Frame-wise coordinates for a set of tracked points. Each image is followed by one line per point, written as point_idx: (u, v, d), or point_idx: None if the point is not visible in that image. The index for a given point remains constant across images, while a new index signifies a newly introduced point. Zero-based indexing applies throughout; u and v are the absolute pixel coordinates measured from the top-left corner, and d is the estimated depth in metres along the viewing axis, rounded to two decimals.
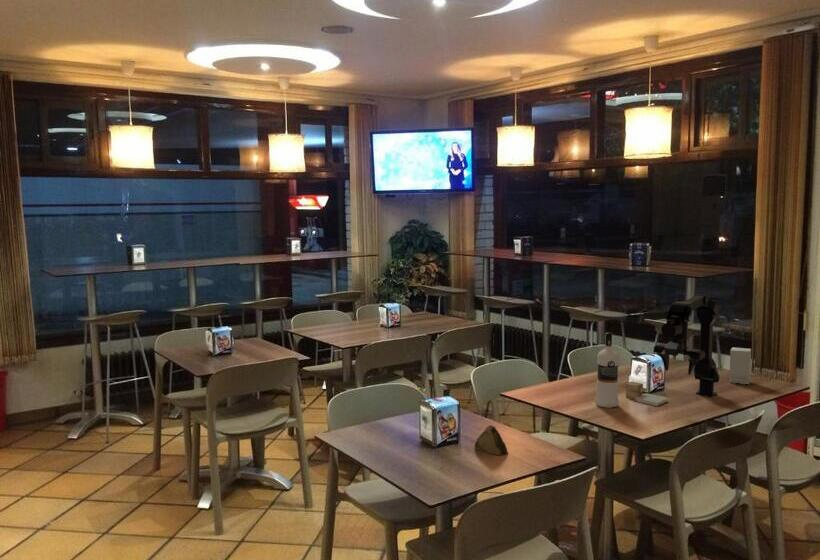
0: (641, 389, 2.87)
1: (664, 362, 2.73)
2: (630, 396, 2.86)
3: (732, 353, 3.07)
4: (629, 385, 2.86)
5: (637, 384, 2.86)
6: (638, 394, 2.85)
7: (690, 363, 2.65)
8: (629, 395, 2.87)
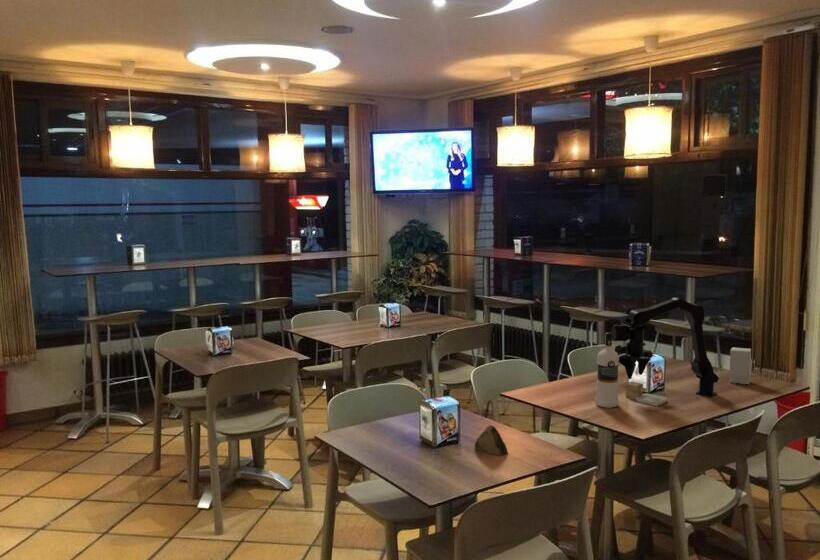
0: (641, 389, 2.87)
1: None
2: (630, 396, 2.86)
3: (732, 353, 3.07)
4: (629, 385, 2.86)
5: (637, 384, 2.86)
6: (638, 394, 2.85)
7: None
8: (629, 395, 2.87)
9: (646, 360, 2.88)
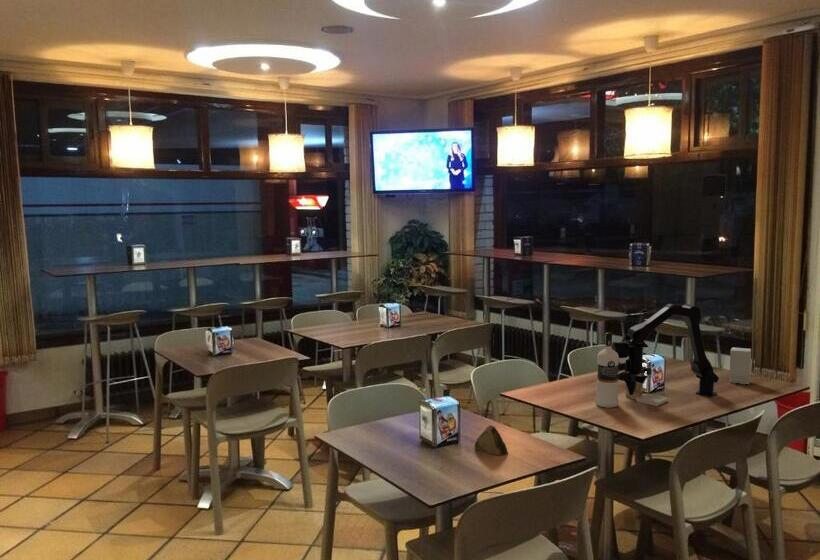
0: (641, 389, 2.87)
1: None
2: (630, 396, 2.86)
3: (732, 353, 3.07)
4: None
5: (637, 384, 2.86)
6: (638, 394, 2.85)
7: None
8: (629, 395, 2.87)
9: (643, 378, 2.88)
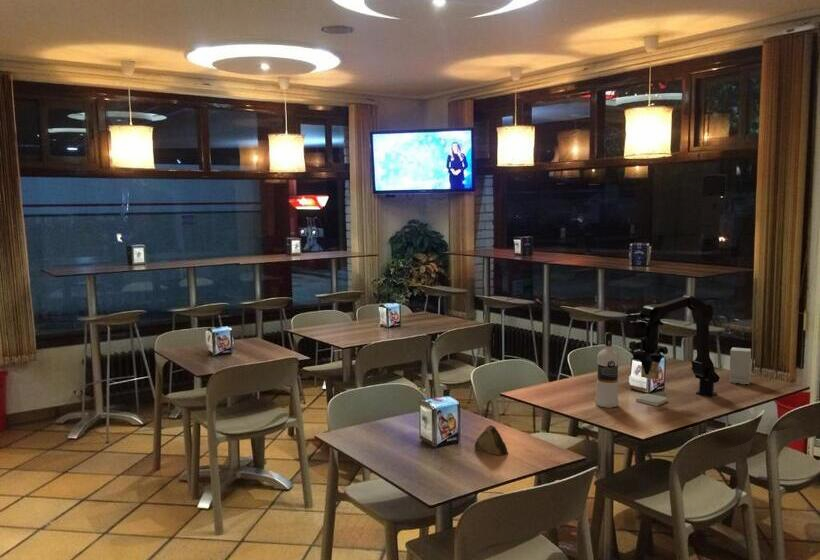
0: (657, 368, 2.81)
1: None
2: (646, 375, 2.80)
3: (732, 353, 3.07)
4: None
5: (653, 363, 2.80)
6: (654, 373, 2.79)
7: None
8: (644, 375, 2.81)
9: (659, 357, 2.81)
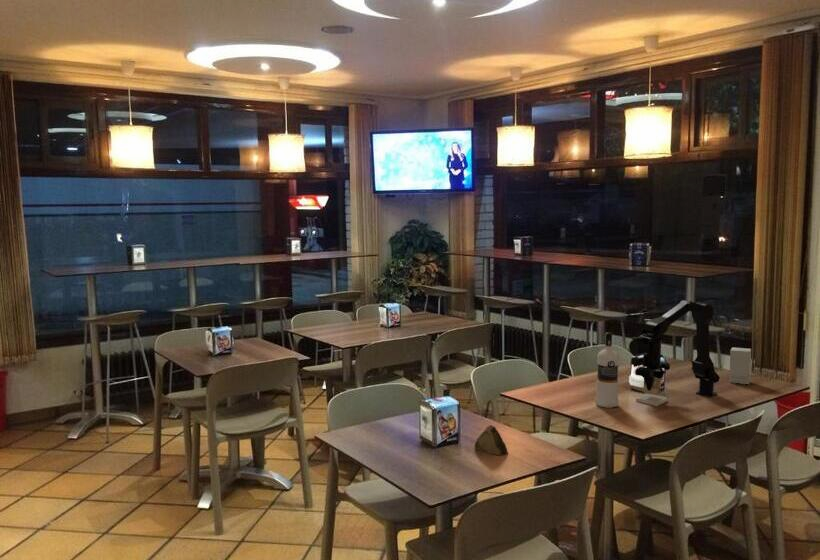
0: (659, 384, 2.80)
1: None
2: (648, 391, 2.80)
3: (732, 353, 3.07)
4: None
5: (655, 379, 2.79)
6: (656, 389, 2.79)
7: None
8: (646, 391, 2.80)
9: (661, 373, 2.81)
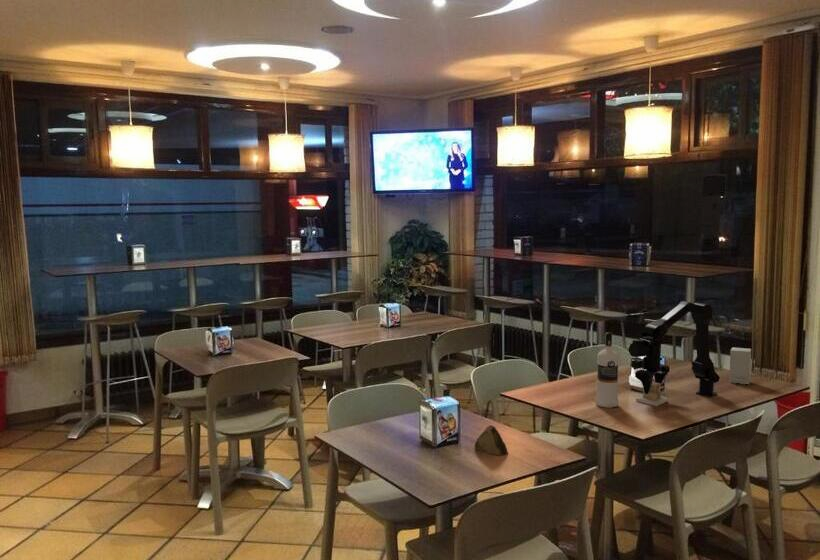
0: (659, 389, 2.81)
1: None
2: (648, 396, 2.80)
3: (732, 353, 3.07)
4: None
5: (655, 384, 2.80)
6: (656, 394, 2.79)
7: None
8: (646, 395, 2.81)
9: (663, 375, 2.83)
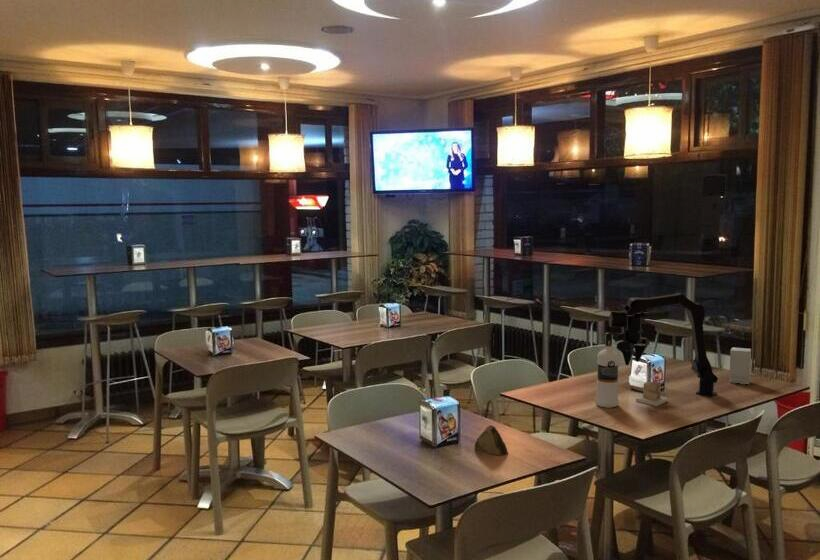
0: (659, 389, 2.81)
1: None
2: (648, 396, 2.80)
3: (732, 353, 3.07)
4: (647, 385, 2.80)
5: (655, 384, 2.80)
6: (656, 394, 2.79)
7: None
8: (646, 395, 2.81)
9: (643, 347, 2.93)
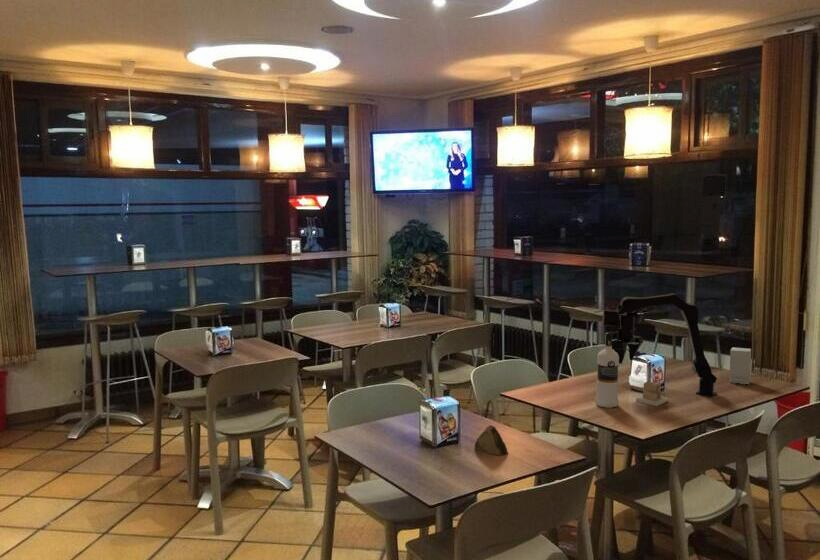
0: (659, 389, 2.81)
1: None
2: (648, 396, 2.80)
3: (732, 353, 3.07)
4: (647, 385, 2.80)
5: (655, 384, 2.80)
6: (656, 394, 2.79)
7: None
8: (646, 395, 2.81)
9: (637, 346, 2.97)
